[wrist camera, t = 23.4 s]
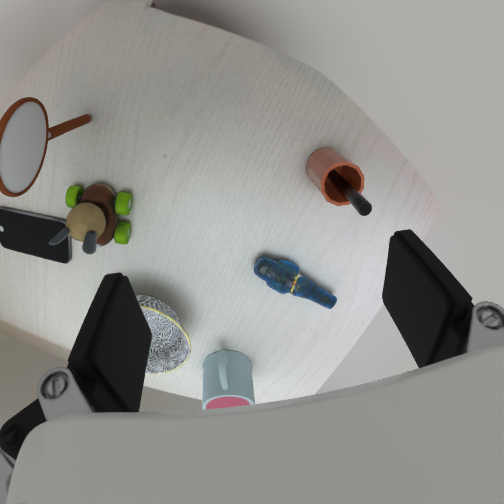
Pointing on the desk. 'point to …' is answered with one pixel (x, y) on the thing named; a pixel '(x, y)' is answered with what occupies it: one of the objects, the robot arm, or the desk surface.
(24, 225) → the smartphone
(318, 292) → the figurine
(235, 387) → the mug
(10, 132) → the magnifying glass
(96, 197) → the toy car
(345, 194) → the stylus
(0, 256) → the desk surface
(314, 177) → the pen pot
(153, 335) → the bowl
